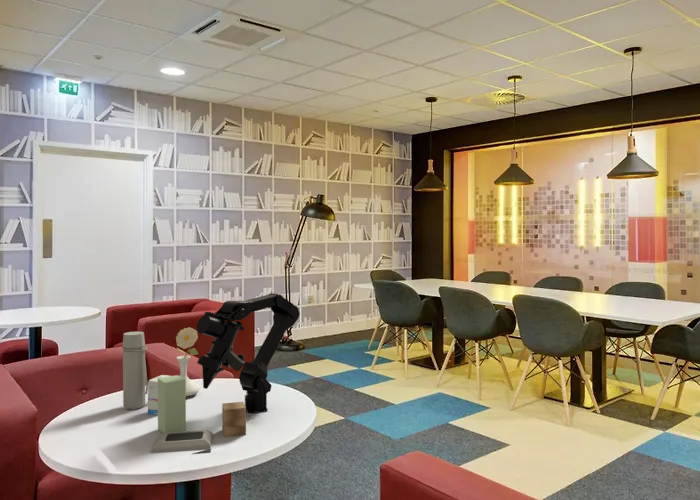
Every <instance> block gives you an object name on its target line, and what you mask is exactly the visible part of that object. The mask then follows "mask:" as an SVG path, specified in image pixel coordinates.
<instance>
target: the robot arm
mask: <svg viewBox="0 0 700 500" xmlns="http://www.w3.org/2000/svg"><path fill="white" fill-rule="evenodd" d="M268 308H270V310H271V312H272V313H273V315H272V320H273V321H272V323H273V324H272V326H271V328H270V330H269V332H268V334H267V335H266V337H265V338H264V341H263V343H262V344H261V346H260V348H259V350H258V352H257V354H256V355H255V357H254V359H253V360H252V361H251V362H250V361H245V358H246V357H245V355H243V353H241V354H238V355H237V353H235V352H234V351H233V350H234V346H233V344H234V342H235V339H236V337H237V335H238V332H239V331H245V328H244V326H243V322H242V320H244V319H245V318H247V317H249V316H250V314H252V313H254V312H259V311H262V310H265V309H268ZM300 315H301V313H300V310H299V307H298V305H295V304H294V303H293V302H291V301H290V300H288V299H286V298H285V297H284V296H283V295H281V294H280V293H274V292H271V293H268V294H265V295H262V296H258V297H254V298H250V299H245V300H226V301H224V302H223V303H222V305H221V307H220V308H219V309H218V310H217V311H215V312H214V313H213V312H210V311H205V312H204V315H202V316H200V318H199V319H198V321H197V322H196V323H197V324H196V331H197V333H199V334H201V335H204V336H209V337H212V338H214V339H213V340H212V341H211V344H212V345H211V348H210V350H209V352H207V354H204V355H202V356H201V355H200V357H199V358H198V360H197V362H196V364H198V365H200V366H202V385H203V387H202V388H203V389H205V390H206V389H208V388H209V387H210V385H211V384H212V383H213V381H214V379H215V377H217V375H218V374H220V373H221V372H223V371H226V370H225V368H223V367H222V366H225V367H226V368H227V369H230V368H232V369H233V371H235V372H238V371H239V373H240V374H239V377H238V379H239V380H238V381H239V383H240V386H241V389H242V391H246V393H245V394H246V395H244V405H245V407H246V413H249V414H251V413H260V412H267V411H269V410H268V406H267V405H268V404H267V402H268V401H267V396H268V395H267V394H268V393H270V392H271V390H272V387H273V386H272V384H271V383H270V382H269V381H268V379H267V377H268V366H269V365H270V361H271V360H272V358H273V356H274V354H275V353H276V350H277V349H278V346H279V344H280V342H281V341H282V339H283V337H284V335H285V334H286V332H287V330H289V329H290V328H291V327H293V326H294V325H295V324H296V322H297V321H298V320H299V318H300Z"/></svg>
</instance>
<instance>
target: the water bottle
mask: <svg viewBox="0 0 700 500" xmlns="http://www.w3.org/2000/svg"><path fill="white" fill-rule="evenodd" d="M145 340H146V339H145V332H143V331H128V332H124V333H123V337H122V346H121V349H122V389H123V390H122V392H123V393H122V398H123V400H122V405H123V406H122V407H123V408H124V409H126V410H138V409H141V408H143V407H145V406H146V395H148V382H149V381H148V375H147V374H148V373H147V364H146V363H147V362H146V350H148V346H147V345H146V341H145Z"/></svg>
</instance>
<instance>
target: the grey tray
mask: <svg viewBox="0 0 700 500" xmlns="http://www.w3.org/2000/svg"><path fill="white" fill-rule="evenodd" d="M213 435H214V434H213V432H212V431H211V430H208V429H206V430H205V429H204V430H201V429H200V430H186V431H181V432H169V433H161V434H158V435H157V436H156V438H155V440H154V442H153V444H152V448H151V453H163V452H164V453H165V452H177V451H178V452H179V451H195V450H201V451H197V452H193V453H192V455H198V454H199V455H200V454H201V455H202V454H211V451H212V448H211V447H212V442H213Z"/></svg>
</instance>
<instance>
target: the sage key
mask: <svg viewBox="0 0 700 500" xmlns="http://www.w3.org/2000/svg"><path fill="white" fill-rule="evenodd" d="M169 376H170V377H163V378H158V415H157V430H158V431H160V432H161V434H163V433H169V432H185V431H187V422H186V421H187V419H186V418H187V416H186V415H187V412H186V411H187V407H186V406H187V400H186V398H187V396H186V379H184V378H182V377H180V375H179V374H178V375H169Z"/></svg>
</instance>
